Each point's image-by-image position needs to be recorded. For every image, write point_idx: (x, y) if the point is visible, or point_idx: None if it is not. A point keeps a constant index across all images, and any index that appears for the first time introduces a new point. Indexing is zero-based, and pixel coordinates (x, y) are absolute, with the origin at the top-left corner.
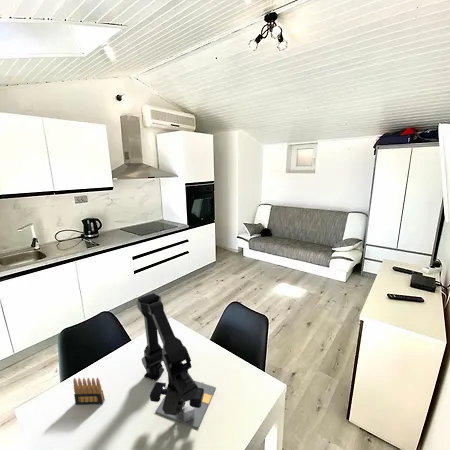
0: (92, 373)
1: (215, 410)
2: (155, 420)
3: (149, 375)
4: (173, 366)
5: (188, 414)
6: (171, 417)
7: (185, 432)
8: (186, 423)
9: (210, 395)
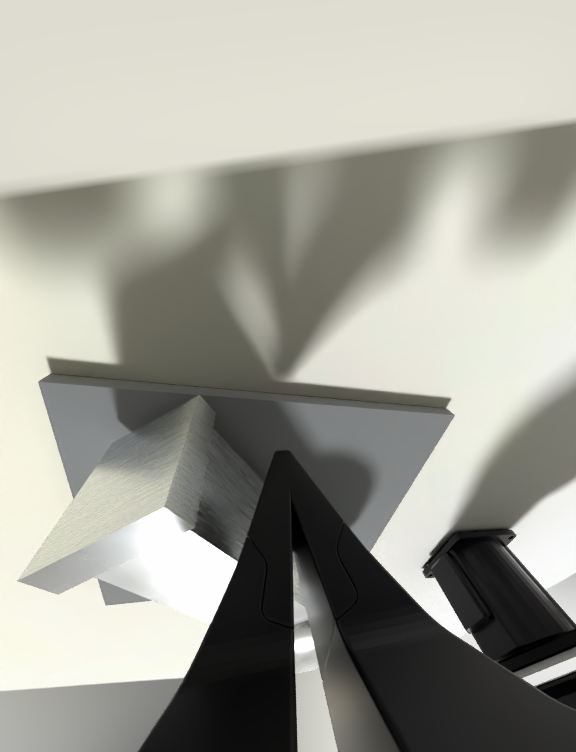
0: None
1: (11, 514)
2: (440, 363)
3: (500, 550)
4: None
5: (129, 479)
6: (329, 405)
7: (159, 322)
8: (182, 391)
9: None
